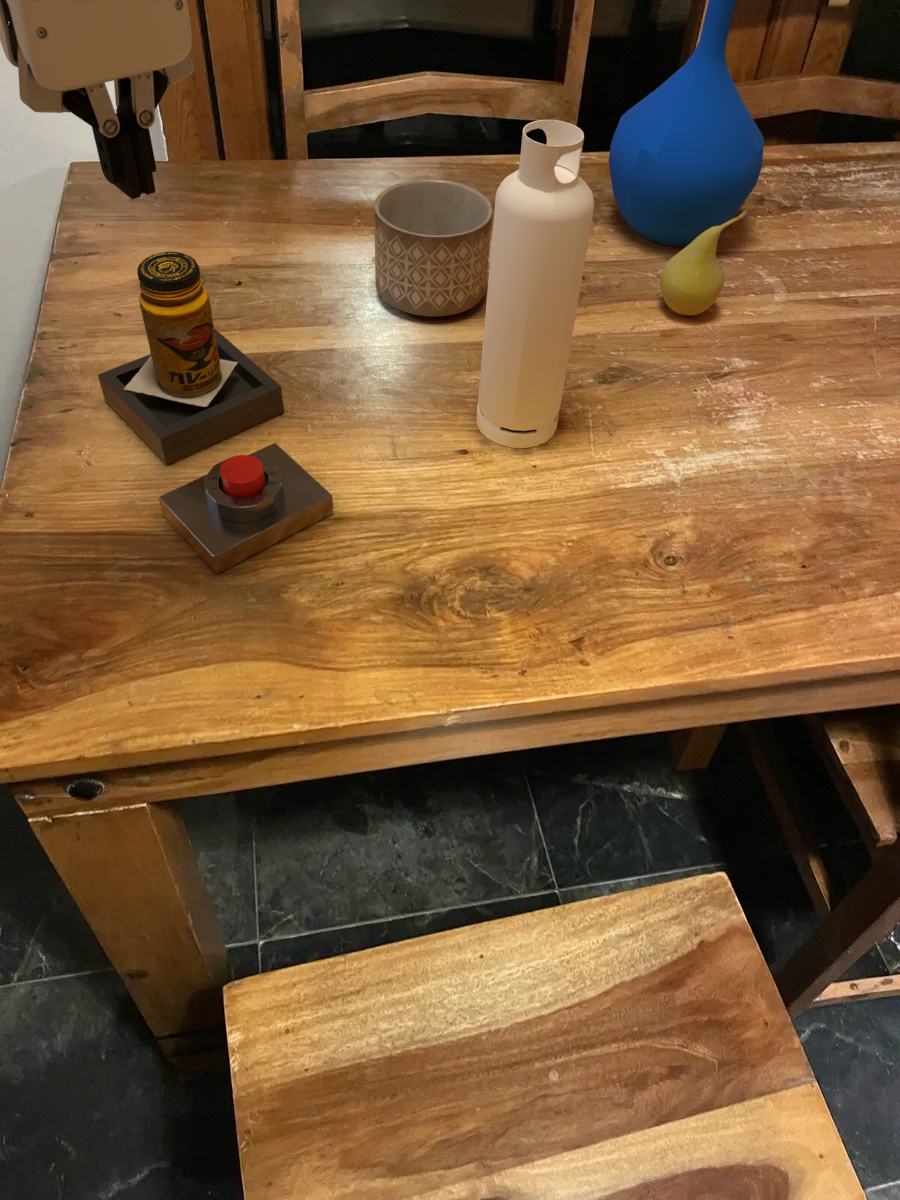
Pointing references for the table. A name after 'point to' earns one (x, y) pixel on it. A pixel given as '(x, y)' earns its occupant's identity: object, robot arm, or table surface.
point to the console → (246, 510)
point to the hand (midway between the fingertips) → (133, 187)
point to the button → (242, 476)
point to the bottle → (534, 287)
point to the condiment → (178, 333)
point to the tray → (194, 406)
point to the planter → (432, 246)
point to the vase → (688, 146)
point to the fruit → (695, 274)
